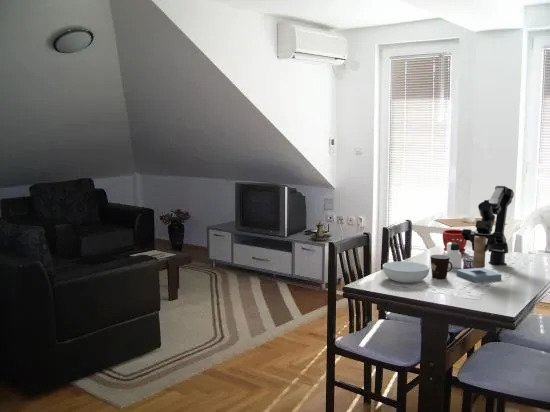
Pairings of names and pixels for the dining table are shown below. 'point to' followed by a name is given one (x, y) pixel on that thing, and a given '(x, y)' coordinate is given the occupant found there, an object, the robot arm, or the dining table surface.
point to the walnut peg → (479, 251)
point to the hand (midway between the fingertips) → (478, 251)
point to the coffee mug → (440, 266)
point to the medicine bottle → (453, 255)
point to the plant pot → (455, 235)
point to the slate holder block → (479, 274)
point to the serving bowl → (406, 271)
